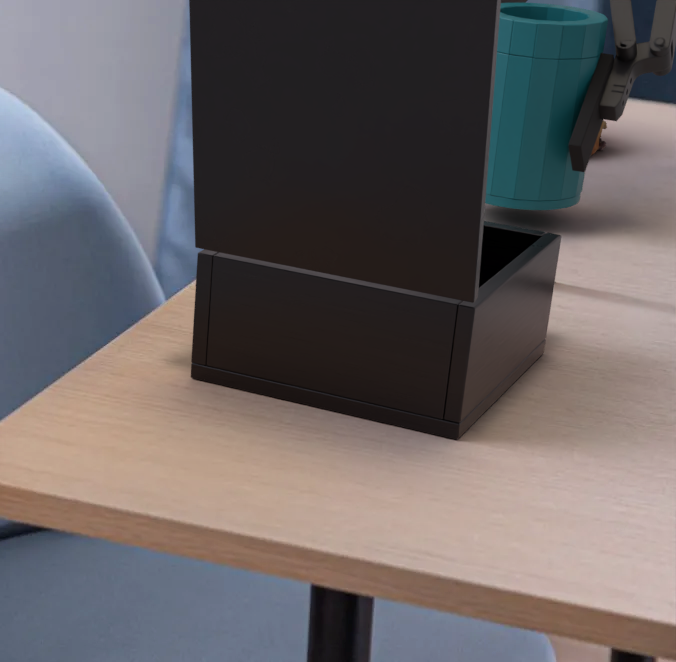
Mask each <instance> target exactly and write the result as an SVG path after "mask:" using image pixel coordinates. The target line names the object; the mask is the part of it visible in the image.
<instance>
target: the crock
mask: <svg viewBox="0 0 676 662" xmlns="http://www.w3.org/2000/svg"><path fill="white" fill-rule="evenodd" d="M608 25H609V18H608V17H607V16H606V15H605V14H603V13H600V12H599V11H598V12H597V11H595V10H592V9H587V8H581V7H576V6H571V5H562V4H552V3H541V2H540V3H538V2H526V3H501V7H500V20H499V32H498V45H497V58H496V71H495V84H494V97H493V110H492V122H491V135H490V148H489V161H488V174H487V187H486V200H485V205H490V206H495V207H499V208H505V209H513V210H523V211H553V210H563V209H567V208H571V207H573V206H576V205H577V204H578V203H579V202H580V200H581V194H582V192H583V188H584V182H585V175H586V171H585V172H579V171H573V170H572V165H571V158H570V152H569V146H568V144H569V141H570V139H571V136H572V133H573V130H574V127H575V125H576V122H577V119H578V116H579V113H580V111H581V108H582V105H583V102H584V99H585V97H586V94H587V91H588V88H589V85H590V83H591V80H592V77H593V74H594V71H595V69H596V66H597V63H598V60H599V58H600V55H601V53H604V49H605V44H606V38H607V30H608Z"/></svg>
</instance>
